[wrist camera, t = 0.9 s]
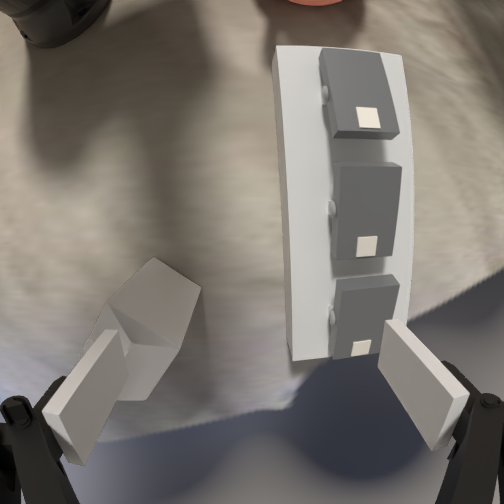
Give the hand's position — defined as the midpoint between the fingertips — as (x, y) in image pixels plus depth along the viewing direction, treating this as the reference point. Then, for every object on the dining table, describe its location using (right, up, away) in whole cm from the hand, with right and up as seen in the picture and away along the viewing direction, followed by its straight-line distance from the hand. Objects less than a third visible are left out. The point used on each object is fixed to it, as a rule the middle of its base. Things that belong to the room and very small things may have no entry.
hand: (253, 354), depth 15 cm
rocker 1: (+10, +20, +12) cm, 25 cm away
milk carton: (-11, 0, +25) cm, 27 cm away
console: (+10, +11, +22) cm, 27 cm away
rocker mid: (+10, +9, +15) cm, 20 cm away
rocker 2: (+11, -2, +17) cm, 20 cm away
